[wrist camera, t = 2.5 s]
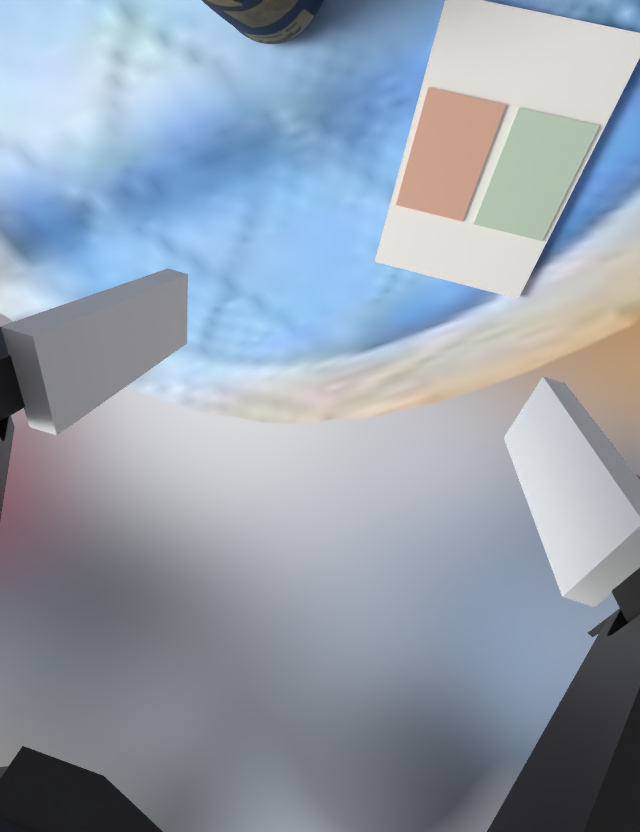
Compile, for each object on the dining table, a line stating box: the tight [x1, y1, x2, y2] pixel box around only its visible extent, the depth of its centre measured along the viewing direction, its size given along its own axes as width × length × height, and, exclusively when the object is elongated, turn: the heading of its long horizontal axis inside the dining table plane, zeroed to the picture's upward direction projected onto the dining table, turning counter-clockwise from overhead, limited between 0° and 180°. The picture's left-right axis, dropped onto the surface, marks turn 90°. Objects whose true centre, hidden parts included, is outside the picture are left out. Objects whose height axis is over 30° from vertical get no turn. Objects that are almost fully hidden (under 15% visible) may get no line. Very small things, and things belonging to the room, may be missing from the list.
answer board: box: [375, 0, 640, 299], centre depth 30 cm, size 18×14×1 cm
